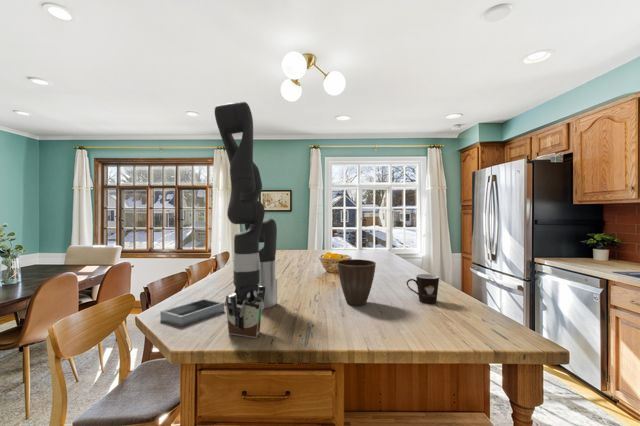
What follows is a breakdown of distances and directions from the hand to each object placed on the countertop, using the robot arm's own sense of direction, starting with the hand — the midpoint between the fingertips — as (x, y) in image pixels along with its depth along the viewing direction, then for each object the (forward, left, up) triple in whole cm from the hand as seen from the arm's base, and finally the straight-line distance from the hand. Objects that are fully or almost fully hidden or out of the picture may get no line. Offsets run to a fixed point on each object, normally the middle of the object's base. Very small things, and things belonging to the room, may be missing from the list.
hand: (247, 325), depth 87 cm
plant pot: (-43, +16, -2) cm, 46 cm away
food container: (-1, 0, -2) cm, 2 cm away
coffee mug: (-59, +38, -2) cm, 70 cm away
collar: (-2, -27, -2) cm, 27 cm away
